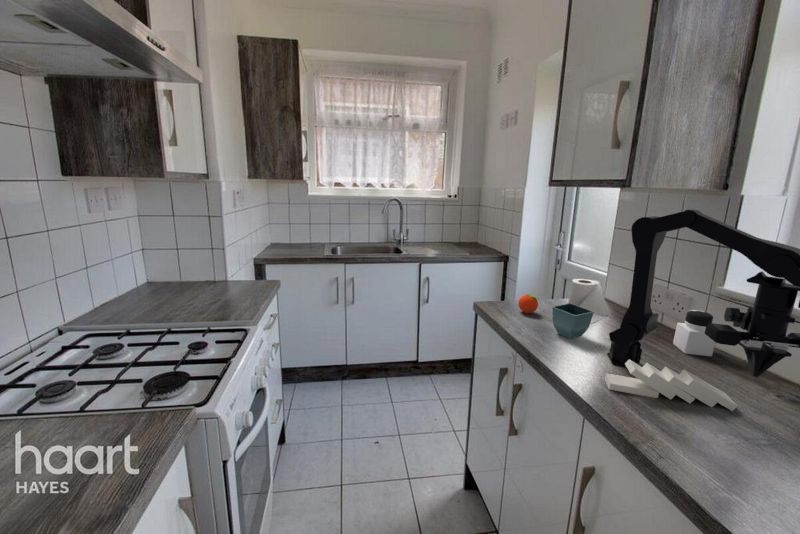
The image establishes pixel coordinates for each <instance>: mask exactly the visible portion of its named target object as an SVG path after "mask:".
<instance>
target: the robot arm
mask: <svg viewBox="0 0 800 534" xmlns="http://www.w3.org/2000/svg"><path fill="white" fill-rule="evenodd" d="M684 228H687V229H690V230H692V231H694V232H696V233H698V234H699V235H702V236H704V237H707V238H709V239H711V240H712V241H715V242H717V243H719V244H722V245H723V246H725V247H727V248H729V249H731V250H733V251H736V252H738V253H739V254H741V255H743V256H744V257H746V259H748V260H749V261H750V262H751V263H752V264H753V265H755V266H756V267H758V268H759V269H761V270H762V271H759V272H757V273H756V274H755V275H754V276H750V278H747V279H746V282H747V283H750V284H756V285H758V286H757V290H756V295H755V298H754V302H753V305H752V306H748V308H747V310H746V312H743V311H742V312H741V310H740V308H737V307H726V308H725V311H724V314H723V315H724V316H723V318H724V319H723V320H724V321H725V322H728V323H729V322H730V323H732V326H731V325H730V324H721V323H714V322H712V323H710V324H709V325H708V326H707V327H706V329H705V333H704V334H706V335H707V336H708V337H709V338H711V339H712V340H713V341H714V342H716V343H715V344H718V345H725V346H726V345H727V346H734V347H735V346H737V345H739V346H740V347H742V348H743V350H744V352H745V356H746V359H747V364H748V369H749V372H750V376H752V377H755V378H759V377H760V376H761V375H762V374H764V373H766V371H767V370H769V369H770V368H771V367H773V366H774V365H775V364H777V363H778V362H780V361H781V360H783V359H784V358H788V357H789V358H790V357H792V353H791V352H789V351H788V350H789V348H798V349H800V333H799V332H790V333H789V334H787V332H788V328H789V325H790V324H795V322H796V317H793V316H792V314H793V312H794V311H793V310H794V308H795V303H796V299H797V296H798V294H799V292H800V248H798V247H796V246H791V245H789V244H785V243H780V242H777V241H773V240H769V239H764V238H761V237H756V236H754V235H752V234H750V233H747V232H746V231H743V230H741V229H738V228H736V227H734V226H732V225H730V224H727V223H724V222H723V221H720V220H718V219H716V218H713V217H711V216H709V215H707V214H704V213H702V211H700V210H698V209H694V208H693V209H684V210H682V211H680V212H676V213H671V214H667V215H662V216H653V215H652V216H643V217H640V218H637V219H636V220H635V221H634V222H633V223H632V225H631V241H632V244H633V247H634V249H635V250H634V251H635V259H634V266H633V273H632V274H633V275H632V276H633V277H632V284H631V291H630V299H629V300H630V301H629V306H628V308H627V310H626V311H625V313H624V315H623V317H622V320H621V322H620V326H619V328H617V329H616V330H613V331H611V332H609V333H608V335H609V341H611V342H610V347H609V351H608V352H607V353H606V355H607V357H608V358H609V360H610V362H611V364H613V365H617V366H622V367H623V366H624V367H626V365H625V363H626V362H627V361H628V360H629V359H630V360H632V361H633V362H635V363H636V364H638V365H639V364H640V363H641V358H642V354H643V349H642V344H641V342H640V341H643V339H644V338H646V337H649V336H650V335H652V334H653V333H654V332H655V330H656V329H658V327H659V326H658V324H657V323H658V319H659V315H660V314H659V313H658V312H657V313H654V312H653V310H652V307H651V303H652V295H653V287H654V281H655V272H656V265H657V258H658V257H657V256H658V253H659V250H660V248H661V247H662V245H663V243H664V240H665V238H666V235H667V232H672V231H676V230H681V229H684ZM767 274H768V275H770V276H767ZM786 281H787V282H789V283H787V282H786ZM797 307H798V309H800V300H799V301H798V305H797ZM736 328H740V329H741V330H743V331H741V330H740V331H739V330H737V329H736ZM744 330H745V331H744Z"/></svg>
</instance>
